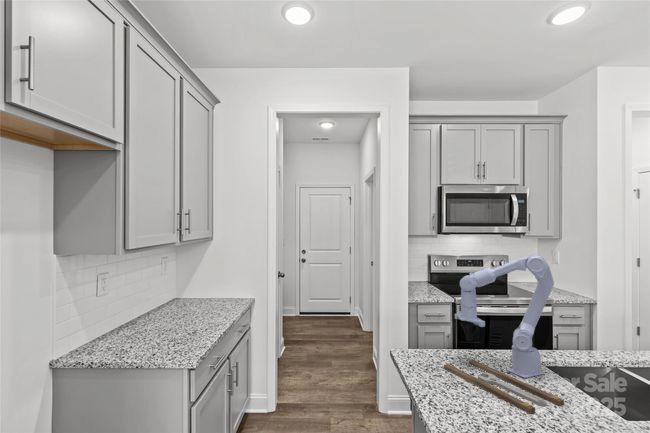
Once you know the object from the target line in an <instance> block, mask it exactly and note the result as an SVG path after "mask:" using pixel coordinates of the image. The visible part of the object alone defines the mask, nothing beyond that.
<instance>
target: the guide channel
mask: <svg viewBox="0 0 650 433" xmlns="http://www.w3.org/2000/svg"><path fill="white" fill-rule="evenodd" d="M469 364H470V365H469ZM468 365H469V366H472V365H473V366H472V367H474V366H475V367H474V368H476V367H478V368H480V369H482V370H484V371H483V372H485V371H486V372H485V373H487V372H488V373H490V374H493V375H495V376H496V377H498V379H499V380H501V381H504V382H506V381H507V382H506V383H508V382H509V384H510V383H511V385H512V386H514V387H516V388H518V389H520V390H521V389H522V391H524V392H527V393H529V394H531V395H533V396H536V397H538V398H540V399H543V400H545V401H546V402H550V403H552V404H554V405H556V406H558V407H562V406H564V405H565V400H564V399H562V398H561V397H560V396H558V395H554V394H552V393H549V392H547V391H545V390H542V389H540V388H537V387H535V386H533V385H531V384H528V383H526V382H524V381H522V380H520V379H518V378H515V377H513V376H510V375H509V374H506V373H504V372H502V371H499V370H497V369H496V368H492V367H490V366H488V365H486V364H483V363H481V362H479V361H476V359H469V360H468ZM478 368H477V369H478ZM443 369H444V370H446V371H447V372H450V373H452V374H454V375H455V376H458V377H459V378H460V379H463V380H464V381H466V382H468V381H469V383H470V382H471V384H472V383H473V384H472V385H474V384H475V385H474V386H476V385H477V386H476V387H478V386H479V388H480V387H481V388H480V389H482V388H483V389H482V390H484V391H486V392H487V391H488V393H489V392H490V394H491V393H492V394H491V395H493V394H494V395H493V396H495V397H497V398H499V399H501V400H503V401H504V402H507V403H508V402H509V403H508V404H510V403H511V405H512V404H513V406H514V407H516V408H518V409H520V410H522V411H524V412H526V413H527V414H530V415H532V414H535V413H536V407H535V406H533V405H532V404H530V403H528V402H525V401H524V400H521V399H519V398H518V397H515V396H513V395H511V394H509V393H507V392H505V391H503V390H501V389H500V388H497V387H495V386H494V385H492V384H487V383H485V382H483V381H481V380H479V379H478V377H475V376H473V375H471V374H469V373H467V372H466V371H463V370H461V369H459V368H458V367H455V366H453V365H451V364H449V363H446V364H443ZM480 369H479V370H480ZM482 370H481V371H482Z"/></svg>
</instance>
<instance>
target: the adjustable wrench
mask: <svg viewBox="0 0 650 433" xmlns="http://www.w3.org/2000/svg"><path fill="white" fill-rule="evenodd" d="M483 376H485V377H483ZM486 377H487V378H486ZM477 379H479V380H481V381H483V382H485V383H487V384H488V383H489V385H492V384H494V385H493V386H496V385H497V386H496V387H498V386H499V388H500V389H503V390H505V391H507V390H508V392H509V391H510V393H511V392H512V393H511V394H513V393H514V394H513V395H515V394H516V395H515V396H518V397H520V398H522V399H524V400H526V401H529V402H530V403H532V404H535V405H537V406H539V407H542V408H543V407H545V408H546V407H547V406H548V401H547V400H545V399H543V398H541V397H538V396H536V395H534V394H532V393H530V392H528V391H525V390H523V389H522V390H521V388H519V387H516V386H514V385H512V384H511V385H510V383H509V384H508V383H507V382H505V381H504V382H503V380H501V379H500V378H497V377H496V376H495V375H493V374H490V373H487V372H481V375H477Z"/></svg>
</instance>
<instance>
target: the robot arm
mask: <svg viewBox="0 0 650 433" xmlns="http://www.w3.org/2000/svg"><path fill="white" fill-rule="evenodd" d="M515 271H522V272H527V271H529V272H530V273H531V274H532V275H533V276H534V277H535V279H536V281H537V284H536V287H535V290H534V292H533V295H532V297H531V299H530V302H529V304H528V306H527V309H526V311H525V313H524V316H523V317H522V321H521V322H520V324H519V326H518V327H517V328H516V329H514V331H513V333H512V334H513V335H512V336H513V337H512V345H511V359H512V360H511V361H512V362H511V363H512V368H507V369H506V371H508V372H509V373H512V374H515V375H517V376H519V377H522V378H523V379H527V378H532V377H536V376H541V375H544V372H543V371H542V361H541V360H542V358H541V357H542V356H541V353H540V351H539V350H538V349H537V348H536V347H533V336H534V333H535V330H536V328H537V327H536V326H537V324H538V322H539V320H540V318H541V316H542V312H543V310H544V308H545V306H546V303H547V302H548V299H549V296H550V294H551V292H552V290H553V287H554V284H555V281H554V278H553V274H552V271H551V268H550V266H549V263H548V262H547V261H546V260H545V258H544V257H543V256H541V255H540V254H531V255H529V256H524V257H520V258H516V259H514V260H511V261H509V262H507V263H504V264H502V265H499V266H497V267H495V268H489V267H481V268H480V270H478V271H476V272H469V275H464V276H463V277H462V278H461V279H460V280H459V287H460V288H461V289H460V309H461V313H454V319H455V320H460V321H462V322H459V323H460V327H461V329H462V330H463V333H464V335H465V339H466V341H467V342H470V343H471V342H473V341H474V338H475V334H476V331H477V329H478V328H479V327H480V328H484V327H486V321H485V320H482V319H481V318H479V317H478V310H477V308H478V306H477V304H478V303H477V293H476V288H481V287H483V286H486V285H490V284H491V283H494V282H495V281H496V278H498V277H500V276H503V275H506V274H509V273H513V272H515Z"/></svg>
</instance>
